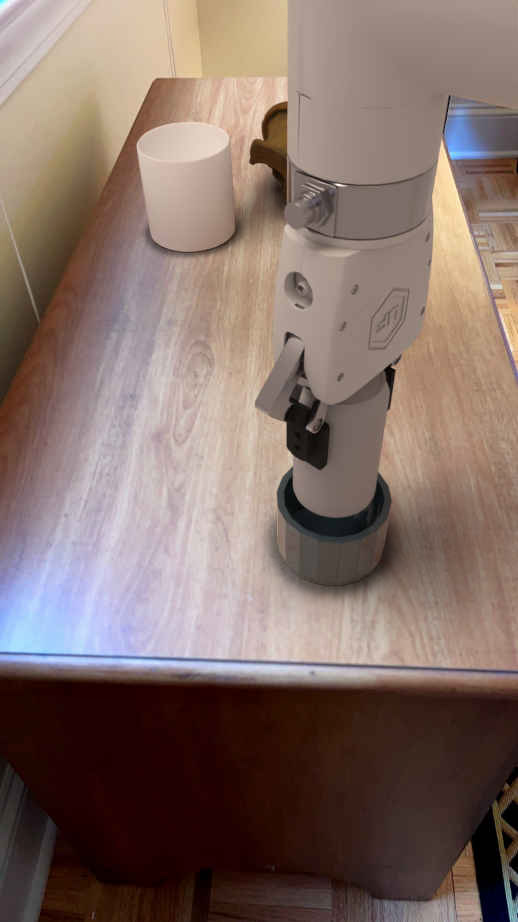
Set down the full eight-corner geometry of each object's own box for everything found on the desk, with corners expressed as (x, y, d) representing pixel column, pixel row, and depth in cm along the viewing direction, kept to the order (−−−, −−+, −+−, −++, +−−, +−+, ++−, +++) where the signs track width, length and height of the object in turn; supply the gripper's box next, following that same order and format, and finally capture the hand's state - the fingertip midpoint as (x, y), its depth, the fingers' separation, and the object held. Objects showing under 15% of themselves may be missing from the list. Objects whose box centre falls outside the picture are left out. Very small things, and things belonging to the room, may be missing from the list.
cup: (239, 208, 98) (234, 121, 89) (231, 252, 90) (225, 162, 81) (157, 208, 99) (145, 121, 90) (143, 252, 91) (127, 162, 82)
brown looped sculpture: (186, 172, 90) (247, 83, 100) (226, 253, 99) (279, 163, 110) (313, 150, 80) (366, 54, 91) (345, 241, 89) (389, 144, 100)
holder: (374, 496, 62) (381, 451, 58) (391, 583, 56) (400, 540, 51) (274, 501, 62) (273, 456, 58) (281, 589, 56) (280, 546, 51)
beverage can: (276, 494, 54) (273, 378, 45) (328, 449, 57) (335, 332, 48) (340, 538, 51) (351, 423, 42) (391, 488, 54) (411, 371, 45)
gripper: (307, 286, 30) (300, 532, 43) (508, 150, 38) (450, 391, 51) (188, 229, 33) (215, 472, 47) (396, 115, 42) (369, 350, 55)
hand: (339, 428), depth 49 cm, fingers closed on beverage can, 6 cm apart
